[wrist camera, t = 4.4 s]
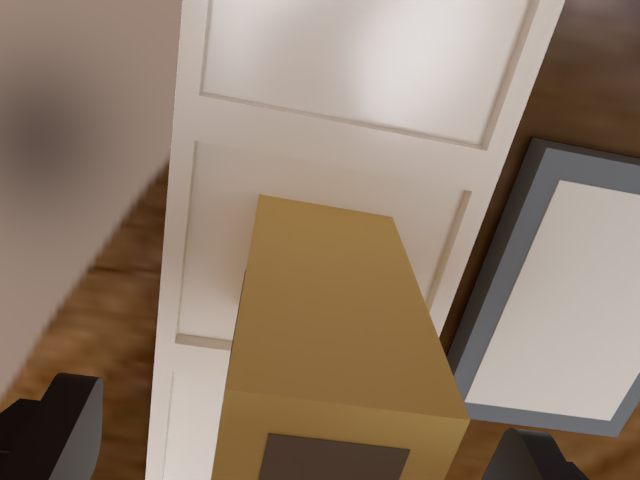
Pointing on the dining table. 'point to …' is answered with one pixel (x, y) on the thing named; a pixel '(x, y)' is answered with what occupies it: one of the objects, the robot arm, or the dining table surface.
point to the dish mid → (301, 185)
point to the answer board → (558, 298)
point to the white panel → (184, 418)
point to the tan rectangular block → (334, 356)
